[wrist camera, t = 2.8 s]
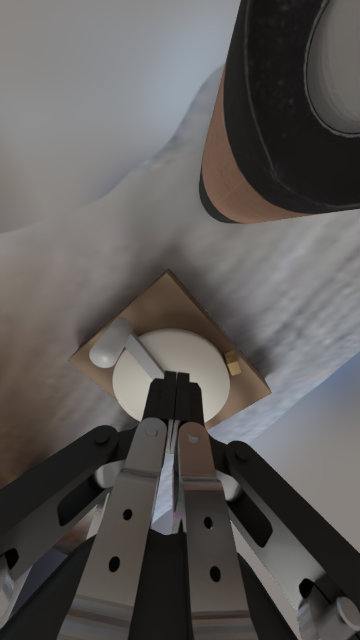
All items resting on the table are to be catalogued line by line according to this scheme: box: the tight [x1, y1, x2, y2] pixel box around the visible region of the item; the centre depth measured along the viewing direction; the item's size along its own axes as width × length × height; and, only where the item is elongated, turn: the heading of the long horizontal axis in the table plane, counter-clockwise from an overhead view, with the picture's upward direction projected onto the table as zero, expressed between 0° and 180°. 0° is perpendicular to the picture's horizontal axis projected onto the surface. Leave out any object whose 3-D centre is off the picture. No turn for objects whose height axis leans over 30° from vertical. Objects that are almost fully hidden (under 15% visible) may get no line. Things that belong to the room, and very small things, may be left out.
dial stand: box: [68, 269, 272, 443], centre depth 30 cm, size 18×22×5 cm
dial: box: [89, 318, 230, 423], centre depth 25 cm, size 19×15×8 cm
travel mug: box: [199, 0, 360, 224], centre depth 14 cm, size 8×8×20 cm
